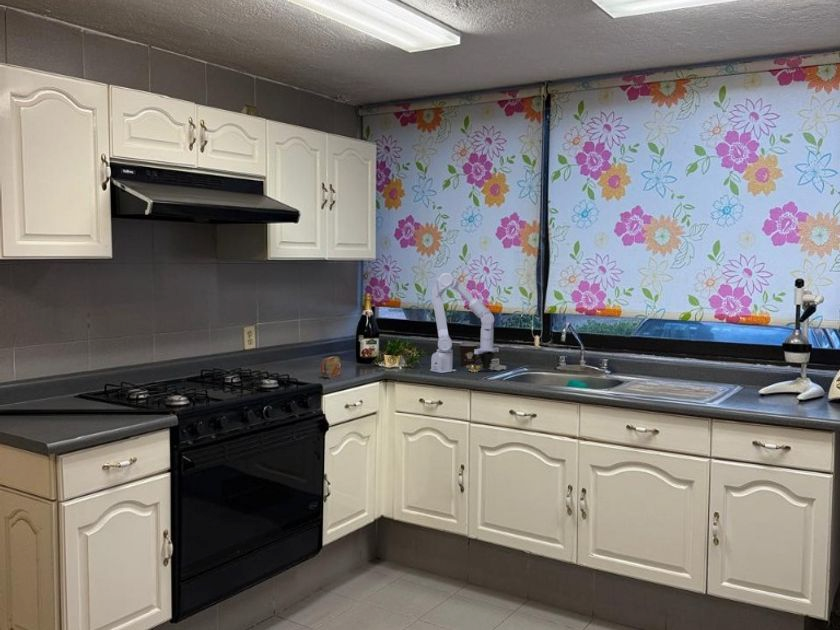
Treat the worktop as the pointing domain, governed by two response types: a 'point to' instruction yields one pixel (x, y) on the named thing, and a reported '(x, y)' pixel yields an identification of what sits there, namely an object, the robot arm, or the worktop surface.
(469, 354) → the coffee mug
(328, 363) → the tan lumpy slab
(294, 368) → the worktop surface
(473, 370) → the cam
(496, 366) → the stand
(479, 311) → the robot arm
